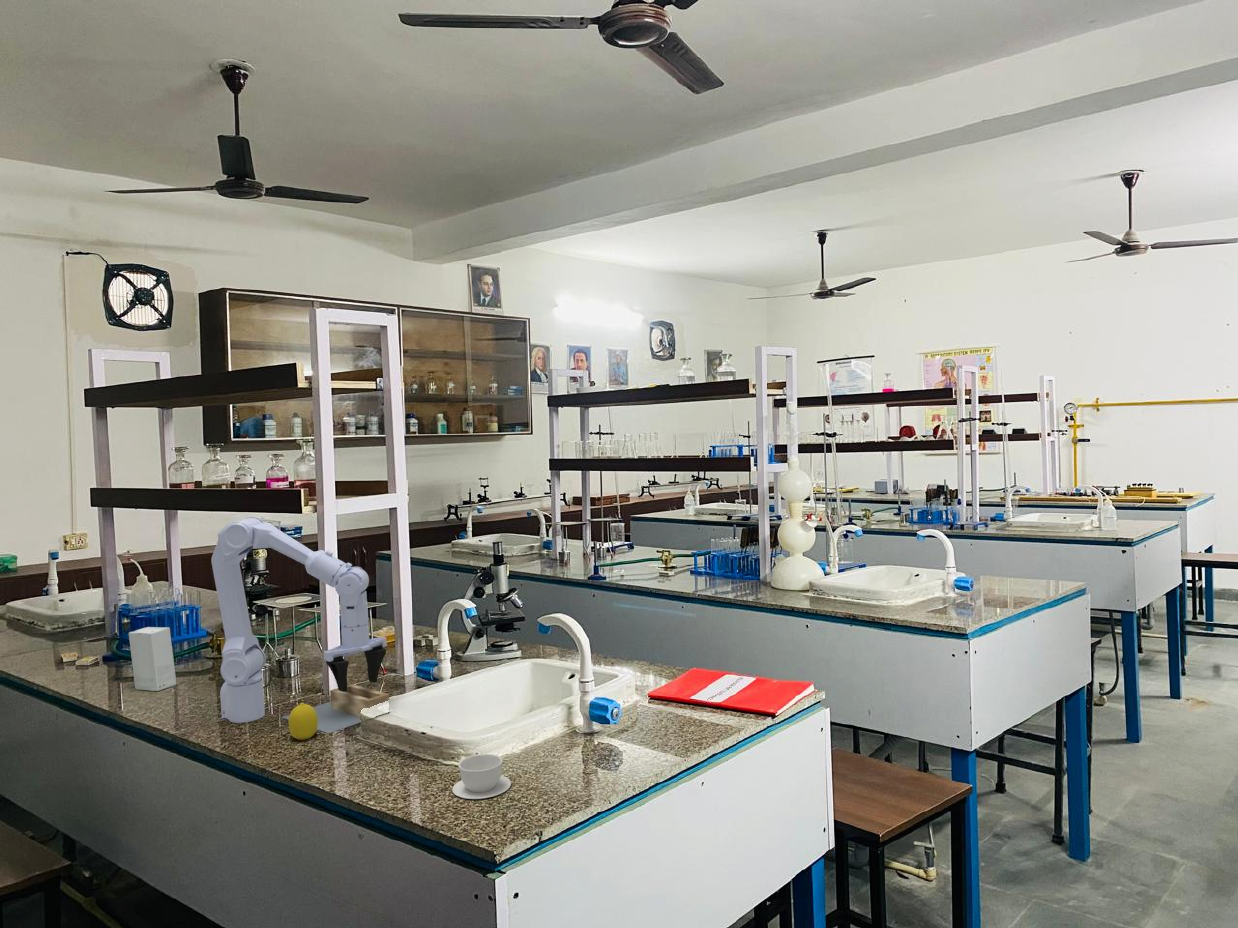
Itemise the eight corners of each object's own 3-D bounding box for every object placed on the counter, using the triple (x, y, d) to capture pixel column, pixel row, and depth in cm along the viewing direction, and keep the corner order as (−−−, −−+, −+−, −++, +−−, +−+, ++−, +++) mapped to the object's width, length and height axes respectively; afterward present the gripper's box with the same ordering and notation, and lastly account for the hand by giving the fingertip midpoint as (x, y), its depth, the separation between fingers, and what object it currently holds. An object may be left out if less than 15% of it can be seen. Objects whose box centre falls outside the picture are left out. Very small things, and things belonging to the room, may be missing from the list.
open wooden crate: (331, 708, 191) (330, 690, 191) (352, 701, 195) (351, 683, 195) (368, 719, 182) (367, 701, 182) (390, 712, 186) (389, 694, 186)
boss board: (281, 721, 187) (280, 705, 186) (346, 700, 199) (345, 685, 199) (328, 737, 175) (327, 720, 175) (394, 714, 188) (393, 699, 188)
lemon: (284, 744, 173) (281, 704, 173) (307, 735, 178) (305, 696, 177) (301, 749, 170) (298, 709, 169) (325, 739, 174) (322, 700, 174)
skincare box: (177, 685, 218) (172, 626, 217) (155, 692, 213) (151, 632, 212) (153, 682, 221) (149, 625, 221) (132, 689, 216) (127, 630, 215)
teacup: (497, 803, 142) (495, 775, 142) (442, 799, 144) (440, 771, 144) (520, 778, 151) (518, 752, 151) (468, 774, 154) (466, 749, 154)
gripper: (335, 633, 180) (339, 698, 180) (393, 619, 191) (396, 680, 192) (316, 629, 184) (320, 692, 185) (374, 616, 195) (377, 675, 196)
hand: (358, 686), depth 189 cm, fingers open, 7 cm apart
